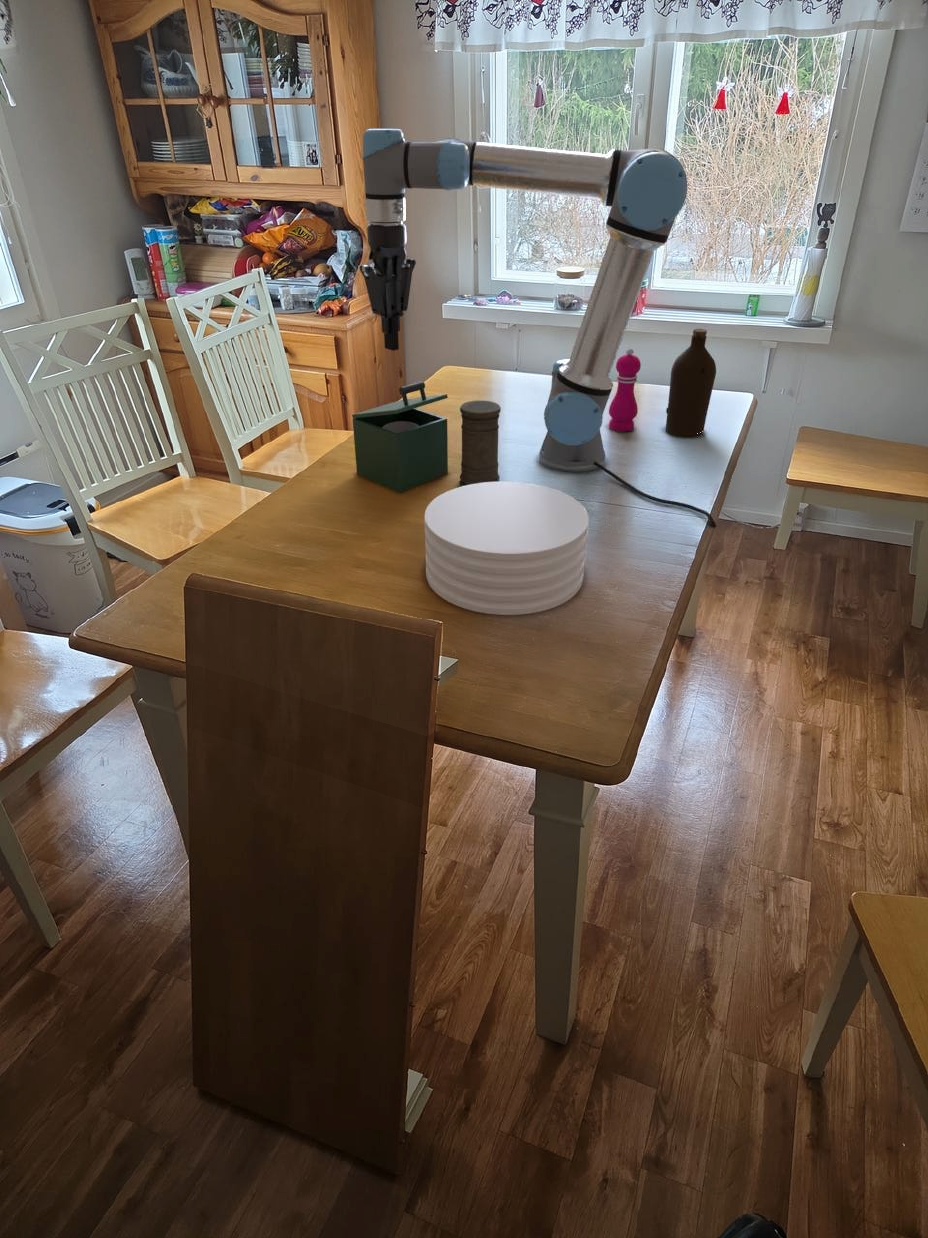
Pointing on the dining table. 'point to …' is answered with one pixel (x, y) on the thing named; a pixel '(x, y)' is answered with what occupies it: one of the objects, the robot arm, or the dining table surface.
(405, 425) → the dixie cup
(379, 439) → the chest
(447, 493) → the plate stack
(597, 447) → the robot arm
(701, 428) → the olive oil
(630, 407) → the pepper mill
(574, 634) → the dining table surface
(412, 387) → the lid
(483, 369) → the dining table surface
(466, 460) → the container
